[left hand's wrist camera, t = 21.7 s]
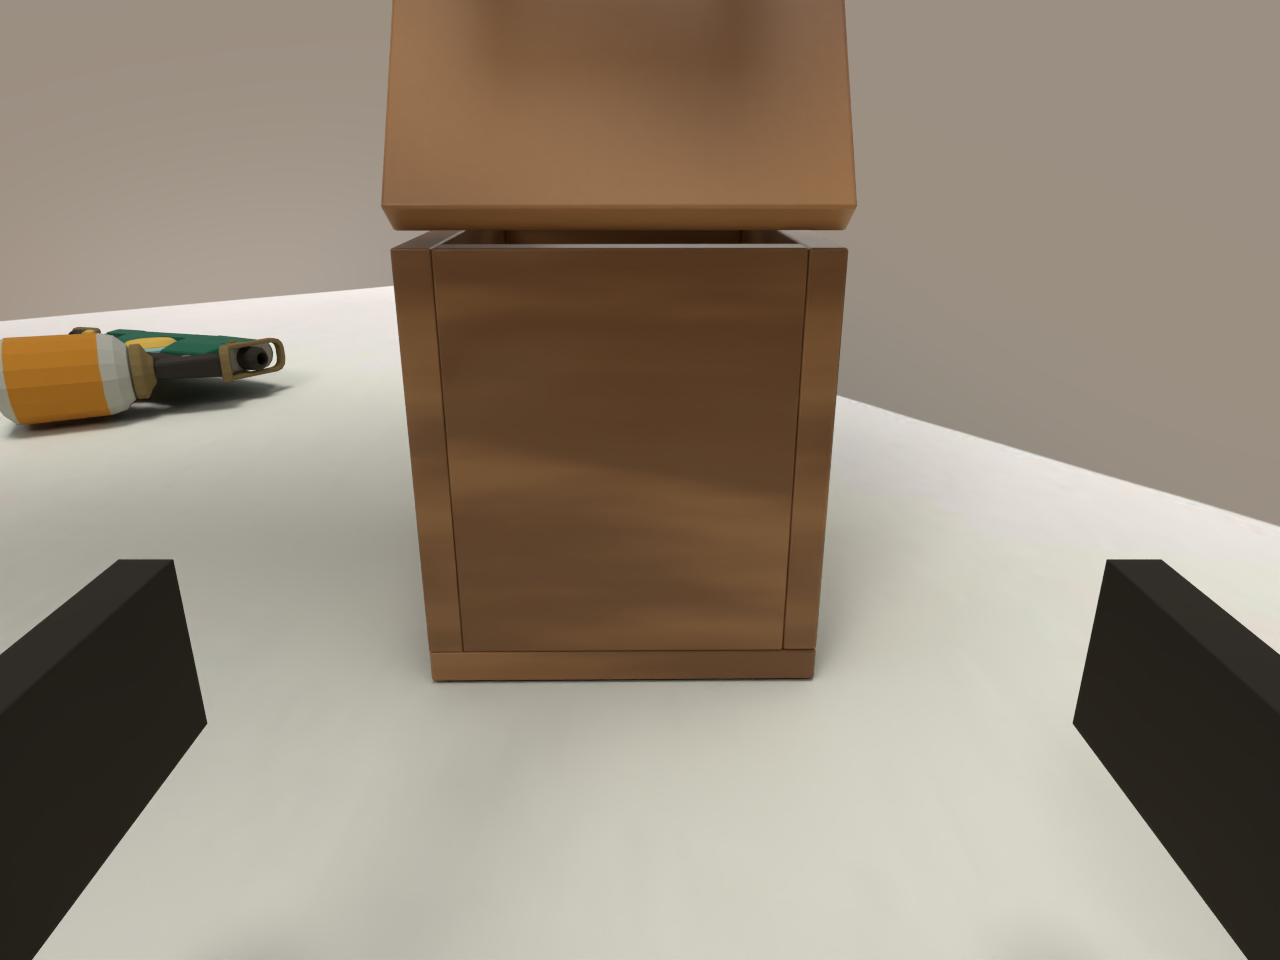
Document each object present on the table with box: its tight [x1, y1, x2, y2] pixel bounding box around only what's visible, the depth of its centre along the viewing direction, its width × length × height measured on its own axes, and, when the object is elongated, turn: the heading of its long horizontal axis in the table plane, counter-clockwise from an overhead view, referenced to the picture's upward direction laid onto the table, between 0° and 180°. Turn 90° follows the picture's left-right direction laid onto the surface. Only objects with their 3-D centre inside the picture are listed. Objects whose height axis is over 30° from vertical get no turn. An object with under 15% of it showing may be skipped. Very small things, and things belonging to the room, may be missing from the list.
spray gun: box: [0, 327, 285, 425], centre depth 49 cm, size 4×17×15 cm
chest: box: [391, 230, 848, 681], centre depth 28 cm, size 13×10×11 cm
